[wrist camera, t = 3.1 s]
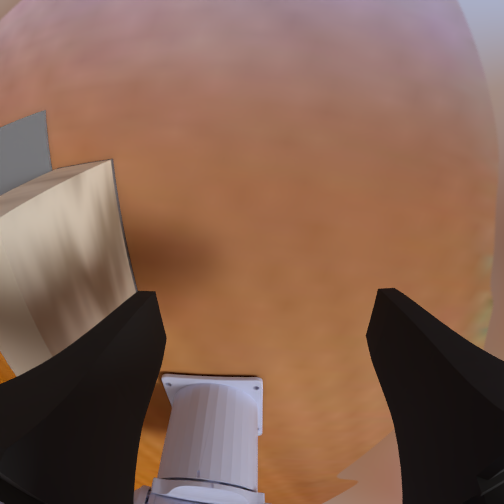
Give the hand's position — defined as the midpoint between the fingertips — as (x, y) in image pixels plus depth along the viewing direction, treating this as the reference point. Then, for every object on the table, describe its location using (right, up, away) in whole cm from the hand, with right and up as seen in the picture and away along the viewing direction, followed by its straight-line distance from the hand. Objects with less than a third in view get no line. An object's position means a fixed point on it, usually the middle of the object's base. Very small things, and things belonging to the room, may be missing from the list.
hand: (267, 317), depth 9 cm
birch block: (-10, +3, +7) cm, 13 cm away
